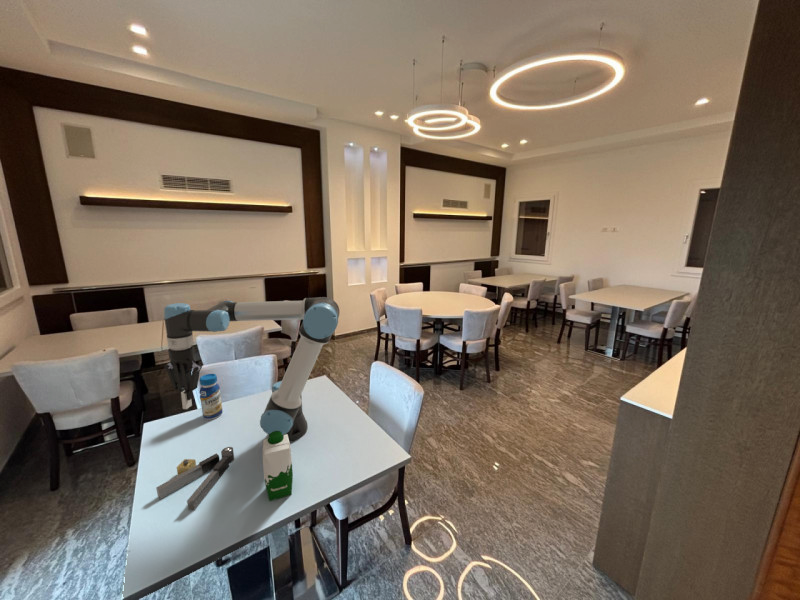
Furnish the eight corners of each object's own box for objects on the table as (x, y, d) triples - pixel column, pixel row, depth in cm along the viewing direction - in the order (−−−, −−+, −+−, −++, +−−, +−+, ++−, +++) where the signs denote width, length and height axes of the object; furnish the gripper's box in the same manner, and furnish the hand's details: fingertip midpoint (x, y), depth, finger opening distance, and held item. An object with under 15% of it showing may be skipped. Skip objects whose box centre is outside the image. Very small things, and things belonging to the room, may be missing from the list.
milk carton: (292, 477, 112) (288, 427, 107) (294, 496, 103) (291, 443, 99) (265, 484, 108) (261, 433, 104) (266, 505, 100) (260, 450, 96)
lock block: (196, 468, 115) (194, 457, 114) (189, 477, 111) (187, 465, 110) (186, 468, 115) (184, 457, 114) (178, 476, 111) (176, 465, 110)
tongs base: (226, 456, 121) (224, 445, 120) (236, 456, 121) (235, 445, 120) (181, 509, 98) (179, 496, 97) (194, 510, 98) (192, 497, 97)
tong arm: (217, 462, 118) (216, 453, 117) (220, 464, 117) (219, 455, 116) (157, 496, 103) (155, 486, 102) (160, 499, 101) (158, 489, 101)
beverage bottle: (218, 408, 154) (213, 371, 150) (226, 414, 149) (221, 375, 145) (199, 416, 148) (194, 377, 143) (207, 422, 143) (202, 382, 139)
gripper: (154, 349, 108) (162, 411, 112) (190, 352, 107) (196, 414, 111) (172, 342, 115) (178, 400, 120) (205, 344, 114) (210, 403, 119)
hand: (187, 407), depth 116 cm, fingers closed
